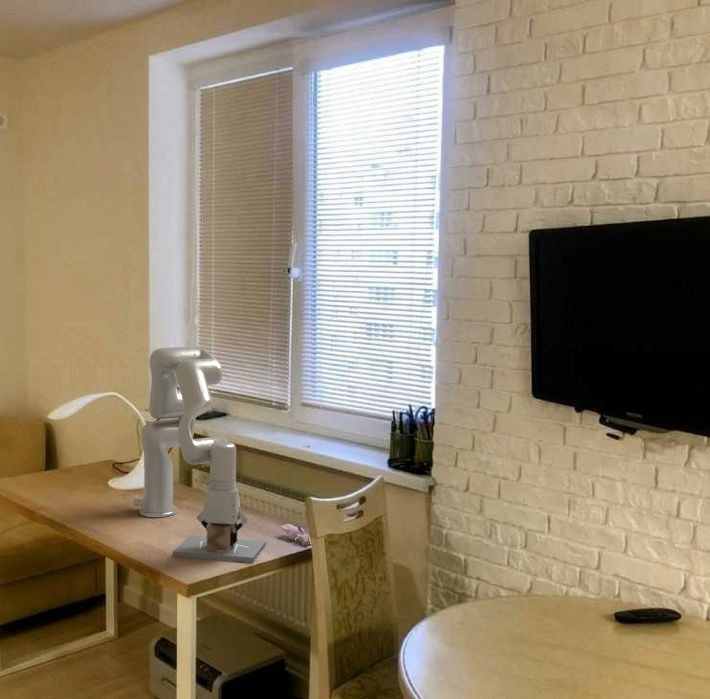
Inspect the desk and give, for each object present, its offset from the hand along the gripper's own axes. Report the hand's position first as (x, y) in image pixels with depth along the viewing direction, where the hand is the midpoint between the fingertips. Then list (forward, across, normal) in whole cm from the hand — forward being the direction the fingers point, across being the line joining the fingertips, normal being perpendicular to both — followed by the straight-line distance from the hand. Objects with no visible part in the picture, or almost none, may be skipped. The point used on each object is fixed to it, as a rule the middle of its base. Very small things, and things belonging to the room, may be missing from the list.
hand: (222, 543), depth 230 cm
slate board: (+2, 0, 0) cm, 2 cm away
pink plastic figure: (+3, +20, +14) cm, 24 cm away
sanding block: (+1, 0, 0) cm, 1 cm away
